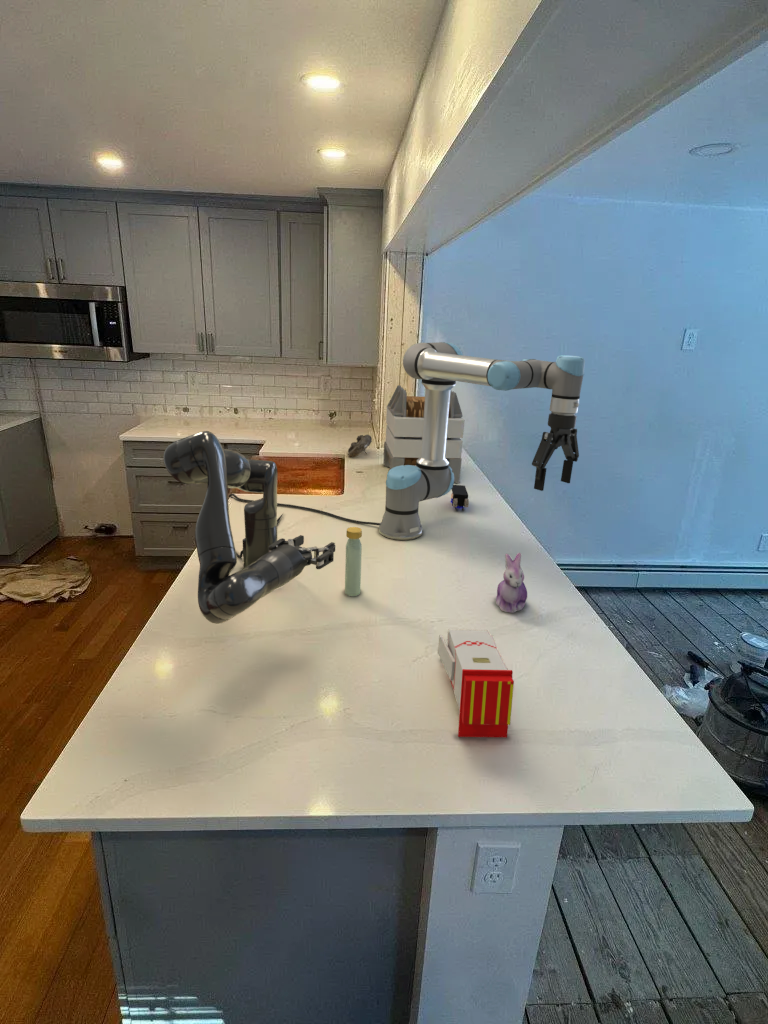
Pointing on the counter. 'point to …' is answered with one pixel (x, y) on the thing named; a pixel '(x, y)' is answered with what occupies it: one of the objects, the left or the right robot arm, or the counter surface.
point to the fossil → (359, 445)
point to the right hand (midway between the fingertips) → (552, 485)
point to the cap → (354, 533)
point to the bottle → (353, 567)
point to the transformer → (419, 431)
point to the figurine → (512, 586)
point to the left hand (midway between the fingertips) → (317, 542)
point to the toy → (478, 682)
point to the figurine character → (459, 497)
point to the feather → (279, 518)
